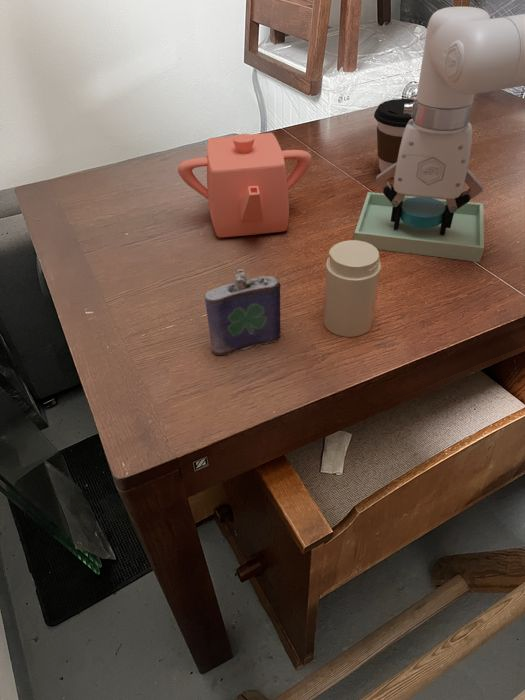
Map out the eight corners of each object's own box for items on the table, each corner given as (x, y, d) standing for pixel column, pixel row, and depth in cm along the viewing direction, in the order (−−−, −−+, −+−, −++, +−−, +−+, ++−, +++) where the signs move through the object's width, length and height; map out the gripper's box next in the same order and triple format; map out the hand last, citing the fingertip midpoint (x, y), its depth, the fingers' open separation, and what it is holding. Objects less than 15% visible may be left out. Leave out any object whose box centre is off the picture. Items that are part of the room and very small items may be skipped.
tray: (479, 216, 86) (483, 203, 84) (479, 262, 76) (484, 248, 74) (366, 204, 90) (367, 191, 89) (353, 246, 81) (354, 232, 79)
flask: (214, 358, 63) (204, 289, 56) (209, 343, 65) (198, 275, 58) (283, 340, 65) (283, 271, 58) (276, 326, 67) (274, 258, 60)
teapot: (185, 202, 94) (173, 125, 84) (302, 191, 95) (303, 114, 85) (186, 261, 79) (172, 176, 70) (324, 248, 81) (329, 162, 71)
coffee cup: (398, 189, 94) (409, 123, 86) (356, 170, 101) (362, 107, 92) (436, 172, 99) (449, 107, 91) (393, 155, 105) (402, 93, 97)
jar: (372, 307, 69) (382, 239, 62) (372, 339, 65) (383, 270, 57) (324, 303, 70) (328, 236, 63) (321, 335, 66) (324, 266, 58)
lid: (397, 226, 80) (399, 215, 79) (401, 205, 85) (402, 195, 83) (442, 230, 78) (445, 218, 77) (443, 209, 83) (446, 198, 82)
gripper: (375, 119, 70) (362, 233, 82) (509, 128, 66) (475, 246, 78) (382, 102, 75) (369, 211, 87) (506, 108, 71) (475, 223, 83)
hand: (419, 227), depth 83 cm, fingers closed on lid, 6 cm apart
